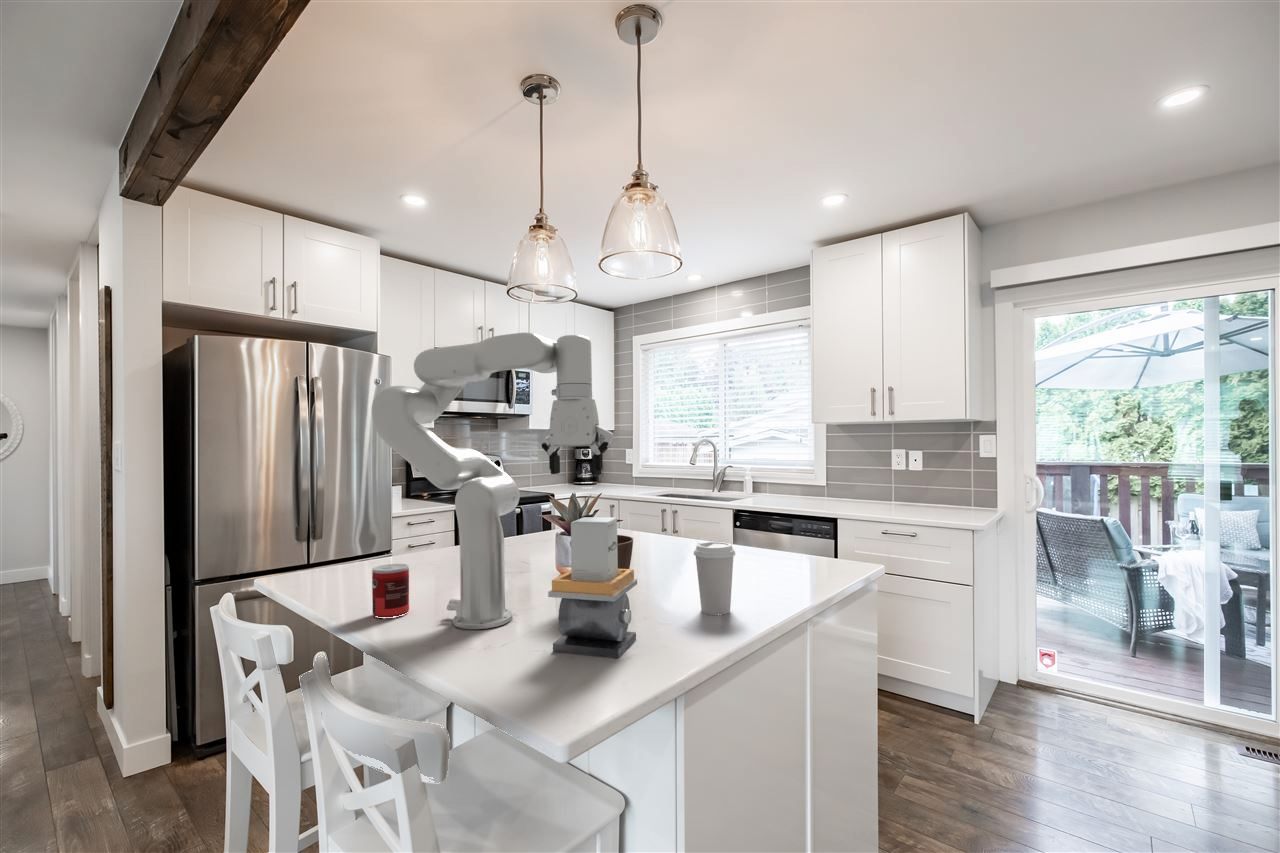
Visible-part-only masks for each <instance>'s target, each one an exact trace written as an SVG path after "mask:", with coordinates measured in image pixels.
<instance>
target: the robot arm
mask: <svg viewBox="0 0 1280 853" xmlns="http://www.w3.org/2000/svg"><path fill="white" fill-rule="evenodd" d="M592 366H593V365H592V342H591V339H590V338H589V337H588V336H584V335H580V334H567V335H562V336H560V337H558V338H557V339H556V340H552V339H550V338H547V337H545V336H542V335H539V334H537V333H535V332H534V333H533V332H516V333H509V334H508V333H507V334H499V335H496V336H492V337H491V336H490V337H487V338H485V339H483V340H481V341H479V342H473V343H464V344H458V345H451V346H442V347H436V348H435V347H433V348H429V349H426V350H423V351H422V352H420V353H418V355H417V356H416V357H415V359H414V362H413V371H414V373H415V376H416V378H418V379H419V381H420V382H422V383H424V384H423V385H422V386H421V387H420V388H419V387H412V386H405V385H393V386H388V387H385V388H383V389H381V390H380V391H378V392H377V393H376V395H374V398H373V400H372V404H371V418H372V423H373V426H374V428H375V431H376V432H377V435H379V437H380V438H381V439H382V440H383V441H384V443H385V444H386V445H387V446H388V447H389V448H391V449H392V450H393V451H394V452H396V453H397V454H398V455H399V456H401V457H402V458H403V459H405V461H407V462H408V464H409V465H411V466H412V467H413V468H414V469H415V470H417V471H418V472H419V473H420V474H421V475H422V476H423V477H424V478H425V479H427V480H428V481H429V482H430V483H431V484H432V485H434V486H435V487H436V488H438V489H440V490H447V491H448V490H449V491H451V490H457V492H456V495H455V498H454V508H455V514H456V518H457V525H458V535H459V571H460V572H459V581H460V582H459V583H460V585H459V586H460V587H459V588H460V591H459V592H460V593H459V594H460V599H457V598H456V599H454V598H452V599H450V600H448V604H447V605H446V610H447V611H455V613H456V614H455V615H454V617H453V620H452V622H453V623H452V624H453V626H455V627H457V628H459V629H463V630H485V629H492V628H496V627H501V626H503V625H506V624H507V623H509V622H511V620H513V612H512V611H511V610H509V609H506V576H505V574H506V572H505V570H506V569H505V537H504V536H505V535H504V530H503V529H504V528H503V525H502V521H501V516H505V515H508V514H509V513H511V512H512V511H514V510H515V509H516V507H517V506H518V505H519V501H520V498H521V497H520V495H521V494H520V489H519V487H518V484H517V483H516V482H515V481H514V480H515V479H513V478H512V477H511V476H510V475H509V474H507V472H505V471H504V470H503V469H502V468H501V467H499V466H498V465H496V463H494V462H493V461H492V460H491V459H489V458H488V457H486V456H485V455H484V454H483V453H481V452H480V451H479V450H475V449H473V448H469V447H454V446H451V445H450V444H447V443H446V442H445V441H444V440H442V439H441V438H440V437H438V435H437V434H436V433H434V432H433V431H431V430H430V429H429V428H427V427H426V426H424V425H422V424H431V423H432V422H434V421H435V420H437V419H438V418H439V417H441V415H442V414H443V413H444V411H445V410H446V409H447V408H448V407H449V406H450V405H451V403H453V401H454V400H455V399H456V397H457V396H458V395H459V394H460V393H461V392H462V390H463V389H464V387H465V386H466V385H467V383H473V382H483V381H487V380H488V379H489V378H490V376H491V375H492V374H494V373H497V372H504V371H510V370H511V371H512V370H520V369H522V370H523V369H526V370H529V371H534V372H537V373H539V374H540V373H541V374H551V373H552V374H553V373H556V385H555V388H554V389H552V390H551V392H550V393H551V396H555V397H556V399H555V400H553V401H552V406H551V412H550V419H549V428H548V429H547V430H545V431H543V432H541V433H540V434H538V436H537V439H538V441H539V443H540V445H541V448H542V449H543V450H544V451H545V453H546V455H547V456H548V457H549V458H548V460H549V462H548V463H549V465H548V466H549V467H548V468H549V470H550V474H551V475H556V474H557V475H558V474H560V473H561V456H560V455H558V454H559V452H560V451H561V449H562V448H563V447H589V448H590V449H591V451H592V452H593V453H594V454H593V455H592V459H591V460H592V464H591V465H592V466H591V467H592V468H591V469H592V474H593V475H598V474H602V470H603V468H604V467H603V466H604V465H603V463H604V462H603V455H604V454H605V453H606V451H607V450H608V449H609V448H610V446H611V443H612V441H613V439H614V437H615V434H614V433H613V432H612V431H610V430H608V429H606V428H604V427H602V426H600V421H599V414H598V407H597V403H596V400H595V399H593V379H592V377H593V376H592V374H593V372H592V369H593V368H592ZM600 436H603V437H604V440H603V442H602V443H601V444H600ZM548 438H549V442H548Z"/></svg>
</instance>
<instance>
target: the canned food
mask: <svg viewBox="0 0 1280 853" xmlns="http://www.w3.org/2000/svg"><path fill="white" fill-rule="evenodd" d="M371 577H372V578H371V580H372V581H371V584H372V585H371V586H372V588H371V590H372V592H371V593H372V596H371V597H372V615H373V617H374V616H378V617H393V616H399V615H402V614H405V613H407V612H408V613H409V610H410V567H409V565H408V564H405V563H387V564H381V565H377V566H374V567H373V568H372V571H371ZM408 613H407V614H408Z"/></svg>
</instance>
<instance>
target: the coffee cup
mask: <svg viewBox="0 0 1280 853" xmlns="http://www.w3.org/2000/svg"><path fill="white" fill-rule="evenodd" d="M693 556H694V557H695V561H696V570H697V572H696V573H697V580H698V590H699V591H698V592H699V600H700V610H701V612H702V613H703V614H706V615H709V614H711V615H710V616H721V615H720V614H724V615H727V614H726V613H728V612H729V613H730V612H731V607H732V606H731V602H732V587H733V586H732V585H733V583H732V582H733V568H734V556H736V551H735V548H733V545H732V543H730V542H724V541H706V542H705V541H704V542H699V543H697V544H696V547H695V549H694V551H693ZM729 613H728V614H729ZM718 614H719V615H718Z"/></svg>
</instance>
